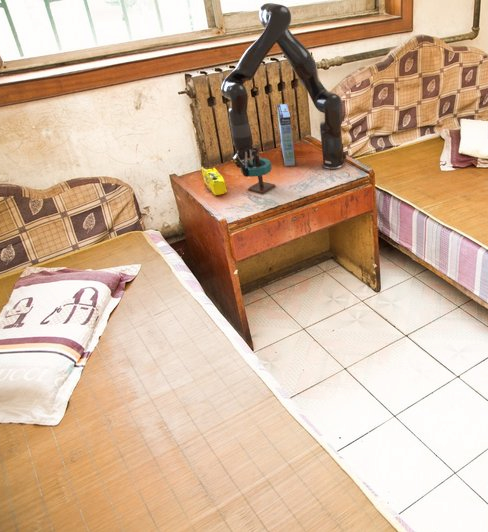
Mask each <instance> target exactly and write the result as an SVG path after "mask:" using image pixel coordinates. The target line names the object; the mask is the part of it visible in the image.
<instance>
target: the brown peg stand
mask: <svg viewBox="0 0 488 532" xmlns="http://www.w3.org/2000/svg"><path fill="white" fill-rule="evenodd" d="M259 158H260V154H258V153H257V157H256V167H255V168H257V167H261V165H260V159H259ZM257 180H258V182H256V183H255V184H253V185H251V186H250V187H248V188H247V190H248V191H250V192H253V193H257V194H262V195H264V194H266V193H267V192H269V191H270V190H272V189H274V188H276V184H274V183H270V182H266V181H264V178H263V175H262V176H257Z"/></svg>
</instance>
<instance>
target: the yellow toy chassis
mask: <svg viewBox="0 0 488 532" xmlns="http://www.w3.org/2000/svg"><path fill="white" fill-rule="evenodd" d="M201 174H202V178H203V183H204V184H205V185H206V188H207V189H208V191H209V192H210V191H211V192H212V193H213V195H214V196H220V195H223V194H226V193H228V191H227V185H226V181H225V179H224V177H223V176H222V174H221V173H219V171H218V170H217V169H216V167H212V168H208V169H206V168H205V167H203V166H202V167H201Z"/></svg>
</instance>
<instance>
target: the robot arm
mask: <svg viewBox="0 0 488 532" xmlns="http://www.w3.org/2000/svg"><path fill="white" fill-rule="evenodd" d="M258 17H259V20H260V23H261V25H262V27H263V28H264V30H263V31H262V33H261V34H260V36H259V37H257V39H256V40H255V41H254V42H253V43H252V44H251V45H249V47H247V49H246V50H245V51H244V53H243V54H242V56H241V57H240V59H239V61H238V63H237V65H236V67H235V68H234V69H233V70H232V71H231V72H230V73H229V74H228V75H227V76H226V77H225V78H224V80H223V82H222V84H221V87H220V89H221V94H222V96H223V97H224V98H225V99H227V100H230V101H231V102H230V103H231V107H229V108H228V119H229V124H230V133H231V139H232V144H233V147H234V149H235V155H234V156H231V160H232V162H233V163H234V164H235V166H236V168H238V169H241V168H242V172H243V174H242V175H243V176H244V177H246V178H248V177H250V176H249V173H248V168H247V167H250V168H254V167H253V166H252V165H253V163H254V162H256V157H257V154H258V151H259V149H258V148H259V147H256V146H253V145H254V140H253V135H252V129H251V124H250V120H249V119H250V118H249V115H248V106H249V105H248V103H249V93H248V89H247V88H246V86H245V83H246V82H250V81H252V80H253V79H254V77H255V76H256V74H257V72H258V70H259V68H260V67H261V65H262V63H263V62H264V60H265V58H266V57H267V55H268V54H269V53H270V52H271V50H272V49H273V47H274V46H275V45H276V44H277V46H278V48H279V49H280V51H281V53H282V54H283V55H284V57H285V59H286V60H287V62H288V64H289V65H290V67H291V69H292V70H293V72H294V73H295V75H296V76H297V78H298V80H299V81H300V82H301V84H302V86H303V87H304V88H305V89H306V91H307V94H308V95H309V97H310V99H311V101H312V103H313V105H314V107H315V109H316V110H318V112H320V113H322V114H324V120H322V121H321V122H320V123H319V131H320V142H321V155H322V167H323V168H325V169H326V170H338V169H341V168H343V167H344V165H345V160H346V159H347V152H346V151H345V152H344V143H343V137H342V136H343V135H342V123H343V102H342V99H341V96H340V95H339V94H337V93H334V92H331V91H329V90H327V88H326V87H325V86H324V84H323V83H322V81H321V80H320V77H319V70H318V66H317V62H316V61H315V59H314V57H313V56H312V54H311V52H310V51H309V49H307V47H306V46H305V45H304V44H303V43H302V42H301V41H300V40H299V39H298V38H297V37H296V36H295V35H294V34H293V33H292V32H291V30H290V29H289V27H290V25H291V22H292V13H291V11H290V9H289V8H288V7H287V6H285V5H283V4H280V3H274V2H268V3H263V4H262V5H261V6H260V8H259V11H258ZM243 163H244V165H243ZM247 164H248V165H247Z"/></svg>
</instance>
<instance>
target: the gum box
mask: <svg viewBox="0 0 488 532" xmlns="http://www.w3.org/2000/svg"><path fill="white" fill-rule="evenodd" d="M276 109H277V111H276V112H277V119H278V126H279V127H278V128H279V129H278V130H279V136H280V147H281V151H282V156H283V162H284V167H293V166H296V160H295V151H294V141H293V140H294V139H293V132H292V131H293V130H292V121H291V115H290V110H289V107H288V104H287V103H281V104H276Z"/></svg>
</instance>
